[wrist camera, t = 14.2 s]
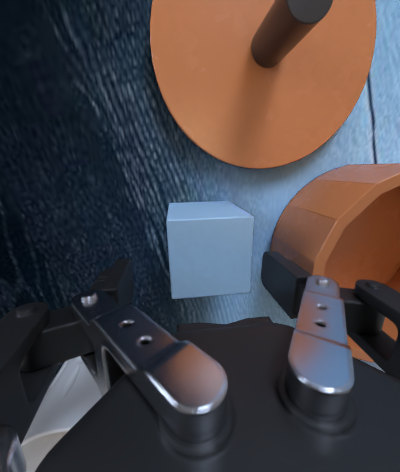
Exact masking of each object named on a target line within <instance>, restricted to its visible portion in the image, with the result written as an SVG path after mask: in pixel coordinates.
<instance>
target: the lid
mask: <svg viewBox="0 0 400 472" xmlns="http://www.w3.org/2000/svg"><path fill="white" fill-rule="evenodd" d="M375 38H376V5H375V0H153V2H152V9H151V20H150V46H151V54H152V62H153V67H154V71H155V75H156V79H157V83H158V86H159V89H160V92H161V94H162V97H163V100H164V102H165V104H166V106H167V108H168V110H169V112H170V114H171V115H172V117H173V118H174V120H175V121H176V123H177V124H178V126H179V127H180V128H181V130H182V131H183V132H184V133H185V134H186V135H187V137H188V138H189V139H190V140H191V141H192V142H194V143H195V144H196V145H197V146H198V147H199V148H200V149H202V150H203V151H205V152H206V153H208V154H209V155H210V156H212V157H214V158H216V159H218V160H220V161H222V162H225V163H228V164H231V165H234V166H238V167H244V168H255V169H263V168H274V167H278V166H282V165H287V164H289V163H292V162H294V161H297V160H299V159H301V158H303V157H305V156H307V155H309V154H310V153H312V152H313V151H315V150H316V149H317V148H319V147H320V146H322V145H323V144H324V143H325V142H326V141H327V140H328V139H329V138H331V137H332V136H333V135H334V133H335V132H336V131H337V130H338V129H339V128H340V127H341V125H342V124H343V123H344V121H345V120H346V119H347V117H348V116H349V114H350V113H351V111H352V110H353V108H354V106H355V104H356V102H357V101H358V99H359V97H360V94H361V92H362V90H363V88H364V85H365V83H366V80H367V77H368V73H369V70H370V67H371V62H372V58H373V53H374V47H375Z"/></svg>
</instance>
